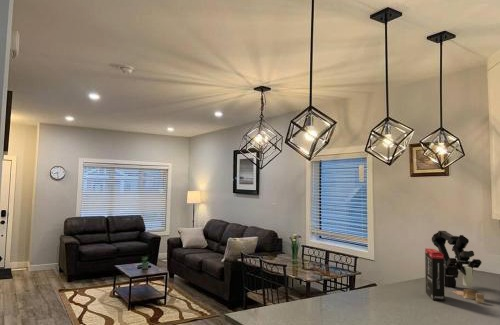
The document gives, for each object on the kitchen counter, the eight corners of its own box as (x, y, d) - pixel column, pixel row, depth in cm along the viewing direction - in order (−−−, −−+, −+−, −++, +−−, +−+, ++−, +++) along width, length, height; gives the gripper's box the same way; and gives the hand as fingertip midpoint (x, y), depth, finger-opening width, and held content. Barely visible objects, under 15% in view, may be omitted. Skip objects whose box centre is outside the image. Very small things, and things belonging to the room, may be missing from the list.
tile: (451, 291, 233) (451, 290, 233) (466, 292, 232) (466, 291, 232) (458, 295, 224) (458, 294, 224) (474, 296, 223) (474, 295, 223)
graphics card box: (445, 301, 208) (445, 253, 210) (432, 300, 209) (432, 252, 212) (436, 294, 225) (436, 248, 227) (424, 292, 226) (424, 248, 228)
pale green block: (462, 284, 225) (463, 266, 225) (468, 284, 224) (468, 266, 225) (466, 286, 221) (466, 267, 221) (472, 286, 220) (472, 268, 221)
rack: (461, 296, 221) (461, 287, 222) (475, 297, 221) (475, 288, 221) (473, 302, 208) (473, 293, 209) (488, 303, 208) (487, 294, 208)
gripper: (448, 244, 228) (457, 266, 217) (480, 246, 227) (490, 268, 216) (443, 255, 236) (451, 276, 224) (473, 256, 235) (482, 278, 223)
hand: (468, 275), depth 222 cm, fingers closed on pale green block, 3 cm apart
